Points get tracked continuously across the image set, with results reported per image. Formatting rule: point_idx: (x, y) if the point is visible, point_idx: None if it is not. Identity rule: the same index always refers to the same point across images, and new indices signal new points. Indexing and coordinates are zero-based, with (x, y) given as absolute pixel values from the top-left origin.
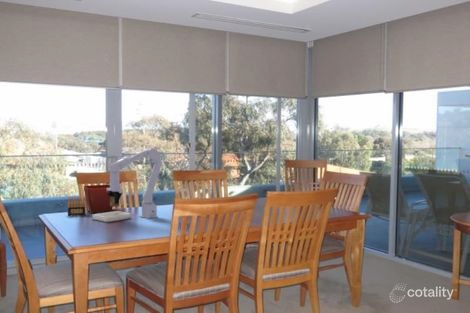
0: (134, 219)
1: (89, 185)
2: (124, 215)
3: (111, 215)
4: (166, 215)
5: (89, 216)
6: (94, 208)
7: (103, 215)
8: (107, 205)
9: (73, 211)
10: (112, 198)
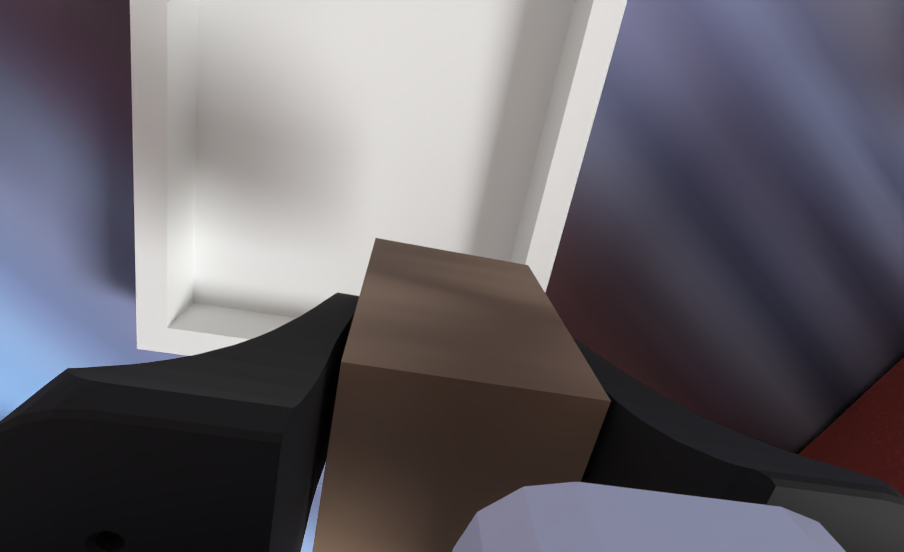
0: (58, 283)
1: None
2: (143, 216)
3: (510, 258)
4: None
5: (835, 84)
6: None
7: (554, 102)
8: None
9: None
10: (450, 344)
